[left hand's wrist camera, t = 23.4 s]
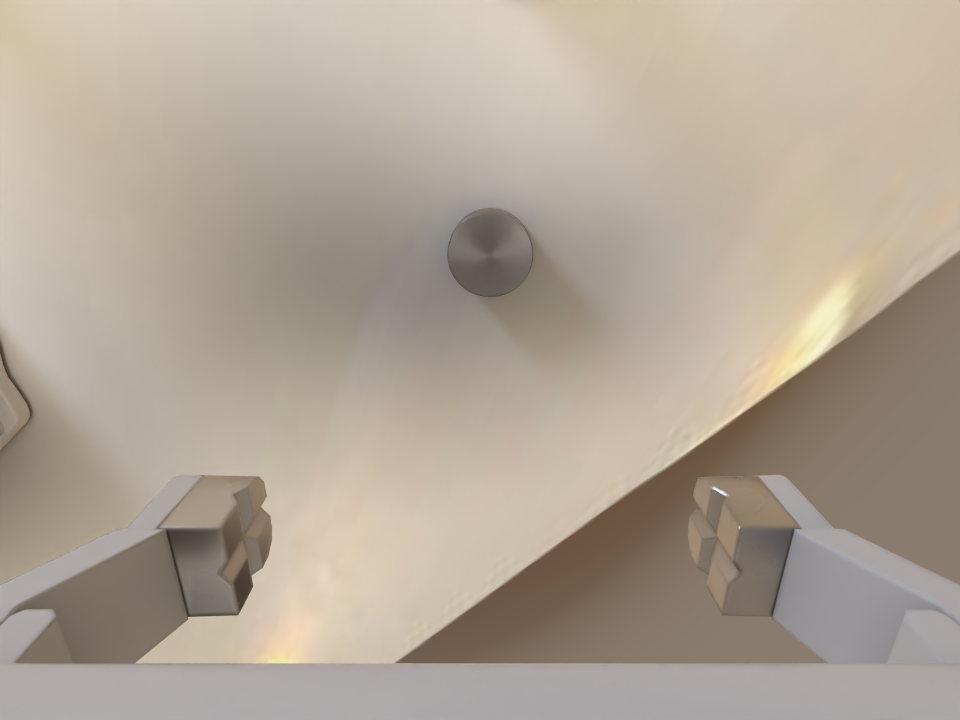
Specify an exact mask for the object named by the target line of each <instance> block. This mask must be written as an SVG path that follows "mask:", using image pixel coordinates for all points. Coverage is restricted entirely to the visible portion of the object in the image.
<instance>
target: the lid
mask: <svg viewBox="0 0 960 720" xmlns="http://www.w3.org/2000/svg"><path fill="white" fill-rule="evenodd" d="M532 258H533V250H532V244H531V241H530V238H529V235H528V233H527V230H526V229H525V227H524V225H523V224H522V223H521V222H520V221H519V220H518V219H517V218H516V217H515V216H513V215H512V214H510V213H508V212H506V211H503V210H500V209H493V208H488V209H481V210H478V211H475V212H473V213H471V214H469V215H468V216H466V217H465V218H464V219H462V220H461V222H460V223H459V224H458V225H457V227H456V228H455V230H454V232H453V234H452V237H451V239H450V242H449V246H448V263H449V267H450V270H451V272H452V274H453V276H454V278H455V279H456V280H457V282H458V283H459V284H460V285H461V286H462V287H464V288H465V289H466V290H468V291H470V292H472V293H474V294H476V295H480V296H485V297H495V296H501V295H504V294H506V293H509V292H511V291H512V290H514V289H515V288H517V287H518V286H519V285H520V284H521V283H522V282H523V281H524V279H525V278H526V276H527V275H528V273H529V270H530V268H531V264H532Z"/></svg>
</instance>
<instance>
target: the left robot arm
mask: <svg viewBox="0 0 960 720" xmlns="http://www.w3.org/2000/svg"><path fill="white" fill-rule="evenodd" d="M29 418H30V411H29V408H28V406H27V404H26V402H25V400H24V399H23V397H22V395H21V394H20V393H19V391H18V390H17V388H16V387H15V386H14V384H13V383H12V382H11V380H10V379H9V378H8V376H7V373H6V371H5V368H4V365H3V362H2V358H1V354H0V450H1V449H2V448H3V447H4V446H5V445H6V444H7V443H8V442H9V441H10V440H11V439H12V438H13V437H14V436H15V435H16V433H17V432H18V431H19V430H20V429H21V428H22V427H23V426H24V425H25V424H26V423H27V422H28V420H29ZM266 497H267V495H266V490H265V485H264V481H263V480H262V479H261V478H260V477H256V476H204V475H181V476H177V477H174V478H173V479H172V480H171V481H170V482H169V483H168V484H167V485H166V486H165V487H164V488H163V489H162V490H161V492H160V493H159V494H158V495H157V496H156V497H155V498H154V499H153V500H152V501H151V502H150V503H149V505H148V506H147V507H146V508H145V509H144V510H143V511H142V512H141V513H140V514H139V515H138V516H137V518H136V519H135V520H134V521H133V522H132V523H131V524H130V525H129V526H128V527H127V528H126V529H116V530H114V531H112V532H110V533H108V534H106V535H104V536H102V537H99V538H97V539H95V540H93V541H91V542H89V543H87V544H85V545H83V546H81V547H79V548H77V549H74V550H72V551H70V552H68V553H66V554H64V555H62V556H60V557H58V558H56V559H54V560H51V561H49V562H47V563H45V564H43V565H41V566H39V567H37V568H35V569H33V570H31V571H28V572H26V573H24V574H22V575H20V576H18V577H16V578H14V579H12V580H10V581H8V582H5V583H3V584H1V585H0V720H960V585H958V584H956V583H954V582H952V581H950V580H948V579H946V578H944V577H942V576H940V575H938V574H935V573H933V572H931V571H929V570H927V569H925V568H923V567H921V566H919V565H917V564H915V563H912V562H910V561H908V560H906V559H904V558H902V557H900V556H898V555H896V554H894V553H892V552H890V551H888V550H885V549H883V548H881V547H879V546H877V545H875V544H873V543H871V542H869V541H867V540H865V539H862V538H860V537H858V536H856V535H854V534H852V533H850V532H848V531H846V530H844V529H834V528H833V527H832V526H831V525H830V524H829V523H828V522H827V521H826V520H825V519H824V518H823V516H822V515H821V514H820V513H819V512H818V511H817V510H816V509H815V508H814V507H813V506H812V505H811V504H810V502H809V501H808V500H807V499H806V498H805V497H804V496H803V495H802V494H801V493H800V492H799V490H798V489H797V488H796V487H795V486H794V485H793V484H792V483H791V482H790V481H789V480H788V479H787V478H786V477H784V476H781V475H765V476H743V477H699V478H698V480H697V482H696V484H695V489H694V495H693V497H694V499H695V500H696V502H697V504H698V505H699V508H698V509H697V510H696V511H695V512H694V513H693V514H692V515H691V516H690V519H689V527H688V539H689V547H690V551H691V554H692V558H693V560H694V562H695V564H696V566H697V568H699V569H700V570H701V571H703V572H704V573H706V574H707V575H709V577H708V582H707V588H708V589H709V591H710V593H711V595H712V597H713V599H714V601H715V603H716V605H717V607H718V609H719V611H720V612H721V614H722V615H729V616H766V617H772V620H774V621H775V622H776V623H777V624H779V625H780V626H781V627H782V628H783V629H785V630H786V631H787V632H788V633H789V634H791V635H792V636H793V637H794V638H796V639H797V640H798V641H799V642H800V643H802V644H803V645H804V646H805V647H807V648H808V649H809V650H810V651H811V652H813V653H814V654H815V655H816V656H818V657H819V658H820V659H821V660H822V661H824V662H825V663H826V664H134V663H135V662H137V661H138V660H139V659H140V658H141V657H143V656H144V655H145V654H146V653H148V652H149V651H150V650H151V649H152V648H154V647H155V646H156V645H157V644H159V643H160V642H161V641H162V640H163V639H165V638H166V637H167V636H168V635H170V634H171V633H172V632H173V631H174V630H176V629H177V628H178V627H179V626H181V625H182V624H183V623H184V622H185V621H187V620H188V617H195V616H230V615H238V614H239V613H240V611H241V609H242V607H243V605H244V603H245V601H246V599H247V597H248V595H249V593H250V591H251V589H252V587H253V582H252V577H251V575H253V574H254V573H256V572H257V571H259V570H260V569H261V568H263V566H264V564H265V562H266V560H267V558H268V555H269V550H270V546H271V541H272V525H271V519H270V516H269V515H268V514H267V513H266V512H265V511H264V510H263V509H262V508H261V505H262V504H263V502H264V500H265V499H266Z"/></svg>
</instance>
